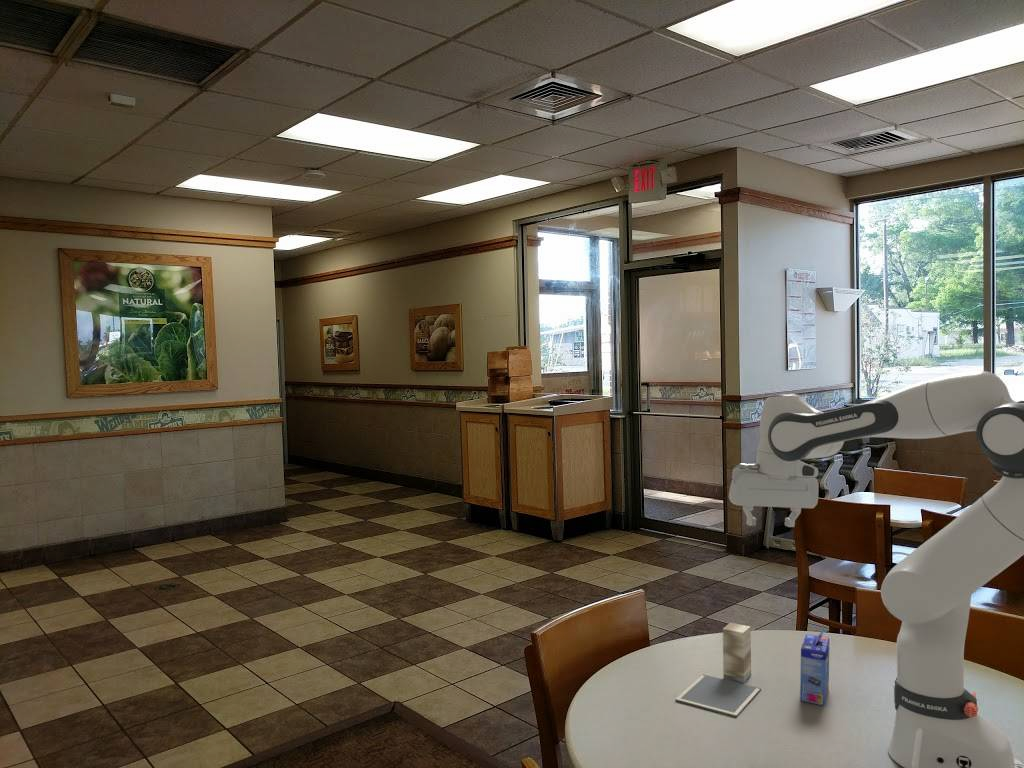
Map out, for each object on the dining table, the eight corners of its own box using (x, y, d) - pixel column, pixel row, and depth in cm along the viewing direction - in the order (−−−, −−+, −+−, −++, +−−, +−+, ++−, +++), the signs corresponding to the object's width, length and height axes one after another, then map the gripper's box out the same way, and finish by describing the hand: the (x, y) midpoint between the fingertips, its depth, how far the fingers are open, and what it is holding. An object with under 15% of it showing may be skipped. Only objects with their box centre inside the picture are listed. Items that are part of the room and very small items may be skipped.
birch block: (751, 675, 181) (750, 626, 180) (744, 683, 177) (743, 632, 176) (731, 671, 184) (730, 622, 183) (723, 678, 180) (722, 628, 179)
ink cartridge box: (826, 707, 164) (825, 641, 163) (799, 702, 166) (798, 637, 166) (830, 688, 172) (829, 626, 172) (805, 684, 175) (804, 623, 175)
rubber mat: (761, 690, 173) (761, 687, 173) (736, 717, 160) (736, 715, 160) (703, 675, 181) (703, 673, 181) (675, 701, 168) (675, 698, 168)
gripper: (740, 465, 163) (734, 528, 164) (825, 469, 167) (818, 530, 167) (726, 460, 169) (721, 520, 170) (809, 464, 173) (803, 523, 174)
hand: (770, 525), depth 169 cm, fingers open, 8 cm apart
